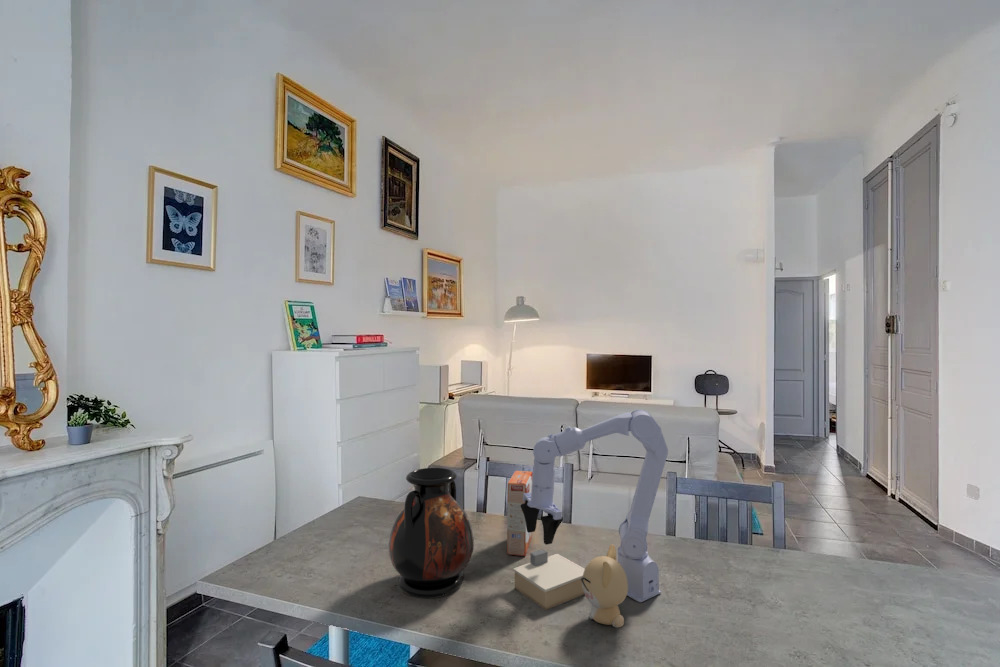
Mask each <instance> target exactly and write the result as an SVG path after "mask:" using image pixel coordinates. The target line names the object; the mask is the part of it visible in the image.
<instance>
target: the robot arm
mask: <svg viewBox="0 0 1000 667" xmlns="http://www.w3.org/2000/svg"><path fill="white" fill-rule="evenodd" d="M629 432H630V433H631V434H632V437H634V438H635V439H636V440H637V441H639V442H640V444H642V446H643V448H644V449H645V451H646V452H645V457H644V459H643V463H642V467H641V470H640V474H639V477H638V480H637V484H636V487H635V491H634V495H633V498H632V502H631V505H630V508H629V510H628V512H627V513H626V517H625V519H624V520H623V521H622V522H621V523H620V524H619V528H618V535H619V538H620V539H619V540H620V545H619V546H618V548H617V562H618V563H619V564H620V565H621V566H622V568H623V569H624V571H625V574H626V577H627V581H628V592H627V596H628V597H629V598H631V599H633V600H634V601H635V602H638V603H642V602H644V601H646V600H650V599H651V598H653V597H655V596H658V595H660V594H661V593H662V591H661V590H660V589H659V588H660V580H659V578H660V577H659V576H660V575H659V573H660V572H659V565H658V564H657V562H656V561H654V560H653V559H652V558H651V557H650V556H649V552H648V541H647V536H648V533H649V531H648V530H649V521H650V516H651V513H652V509H653V506H654V503H655V499H656V496H657V493H658V489H659V485H660V482H661V479H662V475H663V472H664V469H665V465H666V461H667V458H668V454H669V449H668V445H667V442H666V440H665V437H664V435H663V432H662V428H661V426H660V425H659V424H658V422H657V421H656V420H655V418H654V417H653V416H652V414H650V412H649V411H647V410H645V409H640V408H638V409H635V410H633V411H632V412H630V411H627V412H626V411H625V412H624V413H621V414H618V415H617V414H616V415H615V416H612V417H610V418H607V419H605V420H603V421H600V422H598V423H595V424H593V425H590V426H588V427H586V428H583V429H580V428H578V427H576V426H574V427H571V426H570V425H569V426H567V427H565V430H563V431H560V432H557V433H554V434H553V433H549V434H548V436H544V437H541V438H539V439H538V440H537V441H536V442H535V445H534V447H533V450H532V452H533V457H534V458H533V466H532V473H533V475H532V491H531V493H523V501H525V503H524V504H521V509H522V511H523V514H524V517H525V521H526V527H527V532H528V533H530V532H532V533H534V532H536V529H537V522H538V516H539V513H540V510H541V511H542V512H543V513H546V514H547V515H543V516H540V520H541V524H542V528H543V531H542V532H543V544H544V545H551V544H553V542H554V539H555V536H556V533H557V530H558V528H559V527H560V525H561V523H562V522H563V520H564V518H563V516H562V515H563V511H562V510H560V508H559V507H558V506H557V505H556V504H555V502H554V491H555V490H554V489H555V476H556V467H555V465H556V464H555V463H556V462H555V460H556V457H563V456H566V455H568V454H572V453H575V452H577V451H580V450H583V449H584V448H585V445H586V443H587V442H590V441H593V440H597V439H600V438H603V437H606V436H609V435H613V434H620V435H623V436H627V437H629V436H630V435H629V434H630V433H629ZM627 596H626V597H627Z"/></svg>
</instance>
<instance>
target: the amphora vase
mask: <svg viewBox="0 0 1000 667" xmlns="http://www.w3.org/2000/svg"><path fill="white" fill-rule="evenodd" d="M457 477H458V476H457V473H456V472H455V471H454V470H452V469H450V468H445V467H426V468H419V469H414V470H412V471H411V472H409V473H407V475H406V477H405V480H406V481H407V482H408V483H409V484H411V485H413V489H414V490H411V491H409V492H408V494H406V498H405V501H404V505H403V506H404V507H403V508H402V509H401V510H400V511H399V512H398V514H397V515H396V517H395V520H394V522H393V524H392V528H391V530H390V534H389V539H388V545H387V546H388V556H389V559H390V562H391V564H392V567H393V568H394V569H395V572H397V573H398V574H399V575H400V576H399V579H398V585H399V587H400V589H401V590H402V591H403V592H404V593H406V594H407V595H409V596H412V597H416V598H421V599H432V598H440V597H444V596H446V595H450V594H452V593H453V592H455V591H457V590H458V589H459V588H460V587H461V586H462V585H463V582H464V580H465V573H464V570H465V568H467V565H468V564H469V563H470V560H471V558H472V555H473V553H474V548H475V547H474V546H475V544H474V543H475V541H474V538H475V537H474V532H473V528H472V527H473V526H472V523H471V521H470V518H469V516H468V514H467V513H466V510H465V509H464V508H463V507H462V506H461V505H460V504H459V503H458V502H457V487H456V486H457V485H456V483H455V480H456V479H457Z"/></svg>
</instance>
